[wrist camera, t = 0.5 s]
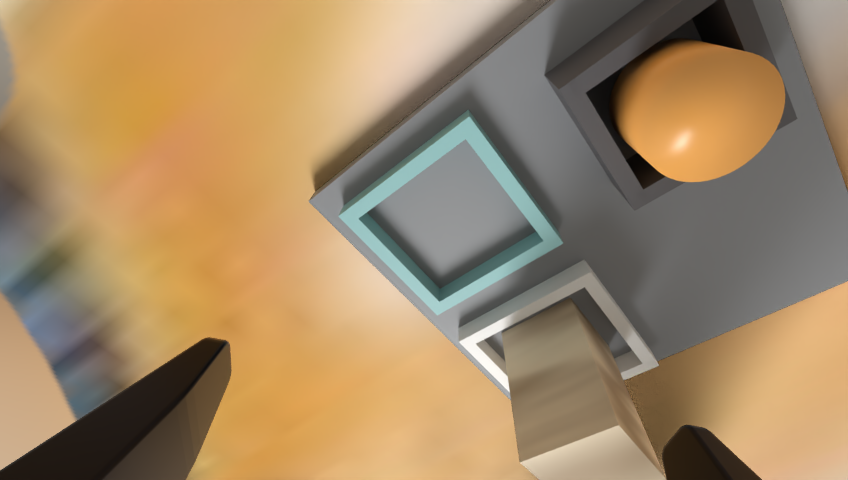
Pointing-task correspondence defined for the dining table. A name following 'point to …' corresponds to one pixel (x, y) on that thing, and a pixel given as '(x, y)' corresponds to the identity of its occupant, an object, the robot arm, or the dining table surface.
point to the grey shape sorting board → (594, 193)
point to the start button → (697, 107)
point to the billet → (573, 402)
